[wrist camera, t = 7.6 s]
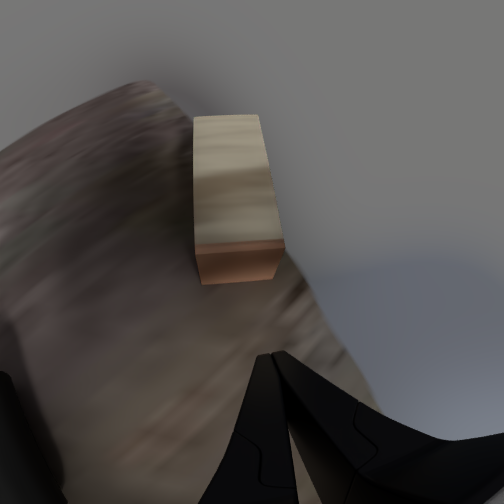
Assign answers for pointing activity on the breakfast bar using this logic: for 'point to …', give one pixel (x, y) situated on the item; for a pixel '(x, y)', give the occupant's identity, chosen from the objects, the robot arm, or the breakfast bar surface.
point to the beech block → (234, 201)
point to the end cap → (21, 456)
